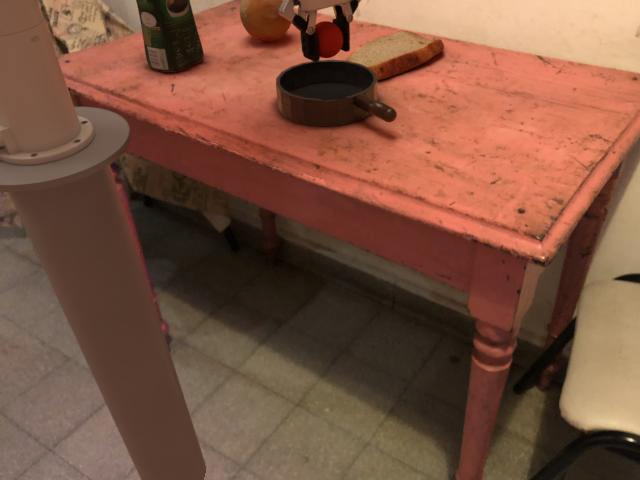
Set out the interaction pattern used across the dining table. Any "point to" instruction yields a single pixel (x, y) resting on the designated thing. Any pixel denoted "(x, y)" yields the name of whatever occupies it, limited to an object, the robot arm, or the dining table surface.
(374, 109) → the pan handle
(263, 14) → the onion
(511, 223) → the dining table surface
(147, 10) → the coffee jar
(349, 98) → the pan
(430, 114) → the dining table surface
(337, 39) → the ball
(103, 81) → the dining table surface
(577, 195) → the dining table surface
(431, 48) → the bread slice
